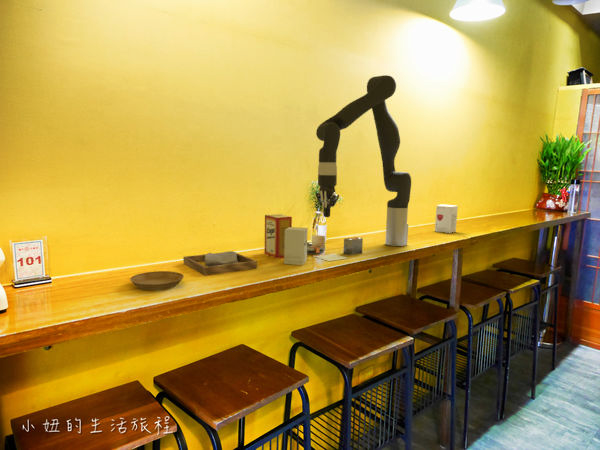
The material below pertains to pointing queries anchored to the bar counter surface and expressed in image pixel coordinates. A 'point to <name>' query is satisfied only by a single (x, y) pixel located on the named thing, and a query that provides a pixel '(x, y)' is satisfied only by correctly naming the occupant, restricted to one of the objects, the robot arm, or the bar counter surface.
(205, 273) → the wooden tray
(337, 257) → the seat tile
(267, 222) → the baking soda box
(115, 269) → the bar counter surface
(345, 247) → the grey rectangular block
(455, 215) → the supplement box
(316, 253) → the sprocket base
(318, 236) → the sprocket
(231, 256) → the stone block
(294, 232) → the supplement box
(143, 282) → the plant saucer
